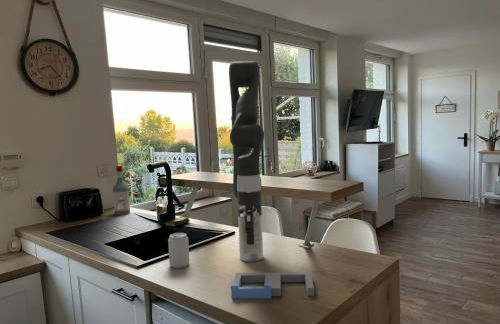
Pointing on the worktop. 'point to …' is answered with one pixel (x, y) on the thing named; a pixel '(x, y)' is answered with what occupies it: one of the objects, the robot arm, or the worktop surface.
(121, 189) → the liquor
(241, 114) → the robot arm
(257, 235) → the skincare box
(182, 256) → the can
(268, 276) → the rail
